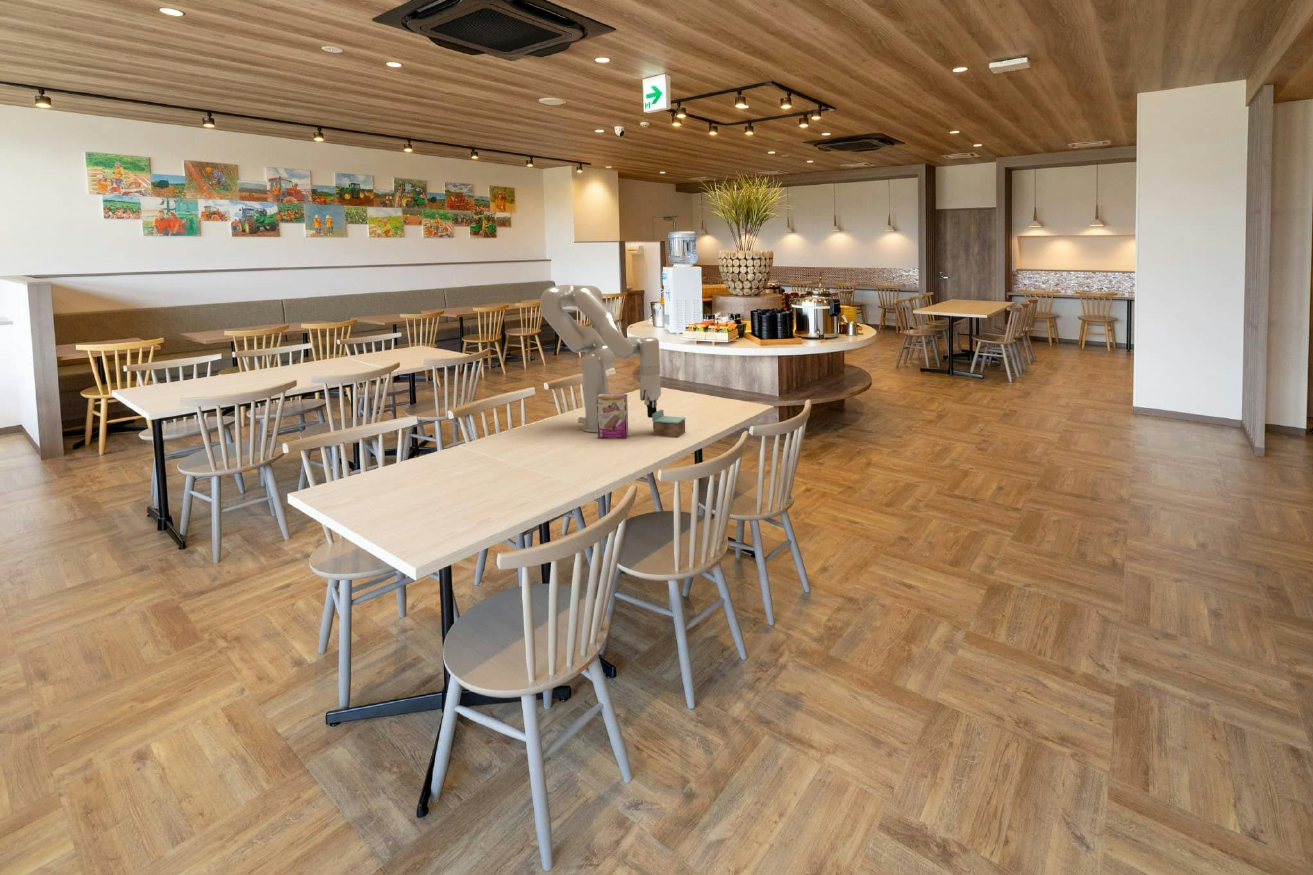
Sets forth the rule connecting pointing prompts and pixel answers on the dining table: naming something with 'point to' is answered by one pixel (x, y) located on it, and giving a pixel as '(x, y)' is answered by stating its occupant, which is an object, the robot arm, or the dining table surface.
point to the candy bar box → (612, 415)
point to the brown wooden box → (668, 429)
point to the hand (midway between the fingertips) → (652, 417)
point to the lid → (666, 418)
